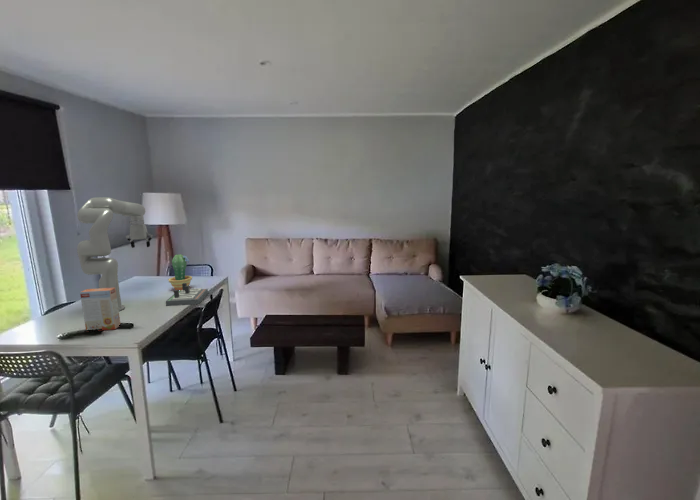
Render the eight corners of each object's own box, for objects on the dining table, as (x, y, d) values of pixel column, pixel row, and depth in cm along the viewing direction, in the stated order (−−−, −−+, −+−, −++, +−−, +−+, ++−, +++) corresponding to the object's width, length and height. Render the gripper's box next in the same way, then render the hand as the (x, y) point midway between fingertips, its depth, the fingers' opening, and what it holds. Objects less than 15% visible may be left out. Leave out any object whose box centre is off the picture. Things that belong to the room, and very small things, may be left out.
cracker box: (121, 325, 185) (116, 286, 181) (115, 330, 179) (109, 290, 175) (92, 327, 184) (86, 288, 180) (85, 331, 178) (79, 291, 174)
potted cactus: (184, 292, 242) (180, 256, 238) (164, 291, 245) (160, 256, 240) (197, 286, 257) (194, 252, 253) (178, 285, 260) (174, 252, 255)
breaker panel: (198, 303, 217) (197, 290, 216) (166, 306, 215) (164, 292, 213) (208, 293, 240) (206, 281, 238) (178, 294, 237) (177, 282, 236)
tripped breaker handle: (188, 292, 226) (188, 286, 225) (185, 293, 225) (184, 287, 225) (189, 291, 228) (189, 285, 227) (186, 292, 228) (185, 286, 227)
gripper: (121, 223, 239) (124, 248, 242) (149, 222, 241) (152, 247, 244) (126, 222, 246) (129, 247, 249) (153, 221, 249) (156, 245, 251)
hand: (140, 247), depth 247 cm, fingers open, 9 cm apart
